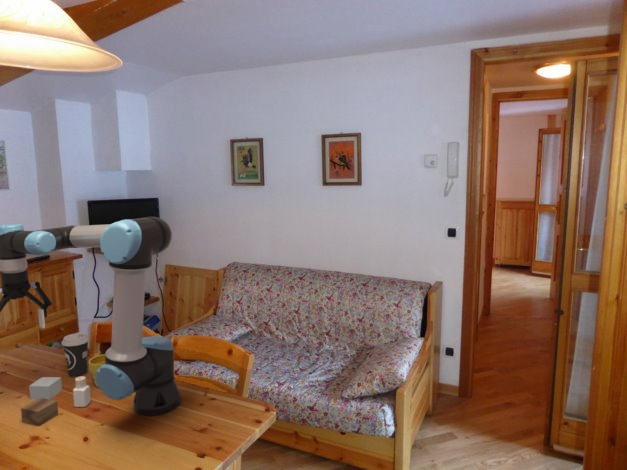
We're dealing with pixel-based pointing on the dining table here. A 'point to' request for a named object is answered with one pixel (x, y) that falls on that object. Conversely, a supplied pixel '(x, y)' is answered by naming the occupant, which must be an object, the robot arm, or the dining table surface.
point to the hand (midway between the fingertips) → (20, 333)
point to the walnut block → (39, 411)
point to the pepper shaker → (81, 392)
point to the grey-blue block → (45, 388)
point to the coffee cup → (76, 353)
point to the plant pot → (96, 365)
